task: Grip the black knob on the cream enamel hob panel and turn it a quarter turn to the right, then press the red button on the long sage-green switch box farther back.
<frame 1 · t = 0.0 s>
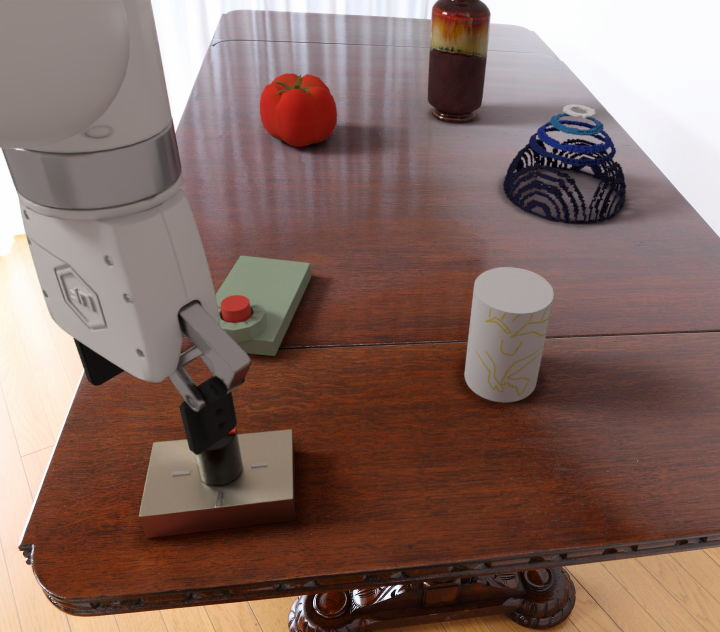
hand: (161, 404, 44), 18 cm above the table, tool pointing down, fingers open, 9 cm apart
decorative bowl: (563, 194, 114), on the table
white patterned cylinder: (500, 378, 76), on the table
start button: (236, 309, 74), point 4 cm above the table, slide at 0.1 cm
switch box: (257, 309, 82), on the table
vase: (453, 115, 138), on the table
hob knob: (217, 450, 57), point 5 cm above the table, hinge at 0.0°
tomato: (300, 140, 122), on the table
hob panel: (225, 491, 61), on the table
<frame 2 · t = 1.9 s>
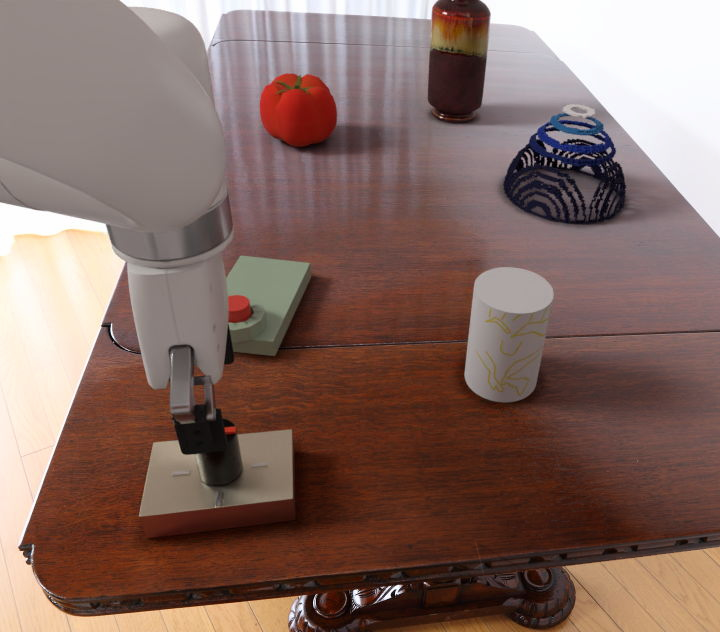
hand: (210, 403, 55), 11 cm above the table, tool pointing down, fingers open, 9 cm apart
nothing on the table moved.
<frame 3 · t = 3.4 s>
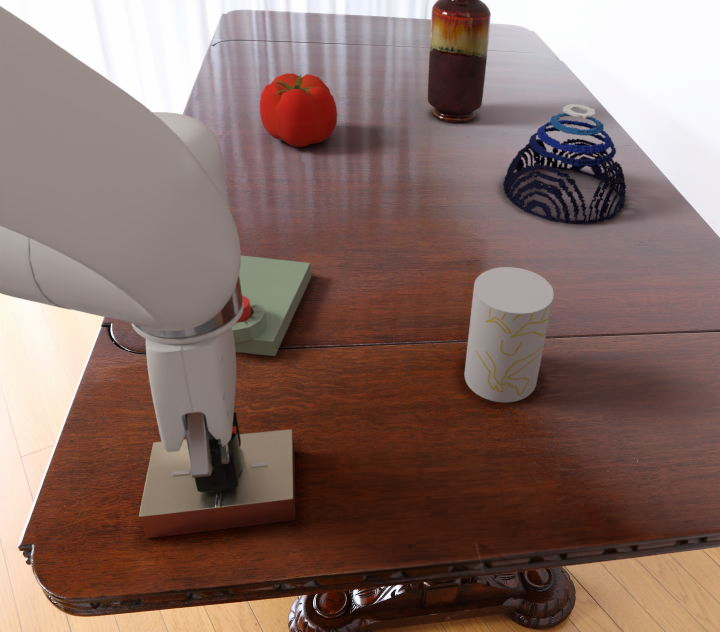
hand: (220, 466, 59), 3 cm above the table, tool pointing down, fingers closed on hob knob, 3 cm apart
hob knob: (217, 450, 57), point 5 cm above the table, hinge at 0.1°, touching gripper
everything else where it was.
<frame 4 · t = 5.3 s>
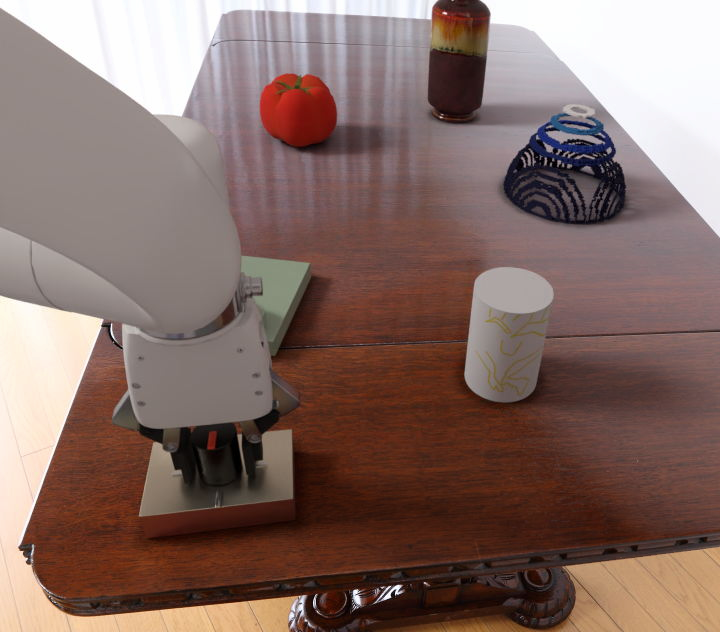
hand: (221, 465, 59), 3 cm above the table, tool pointing down, fingers open, 4 cm apart
hob knob: (217, 450, 57), point 5 cm above the table, hinge at -91.5°
everything else where it was.
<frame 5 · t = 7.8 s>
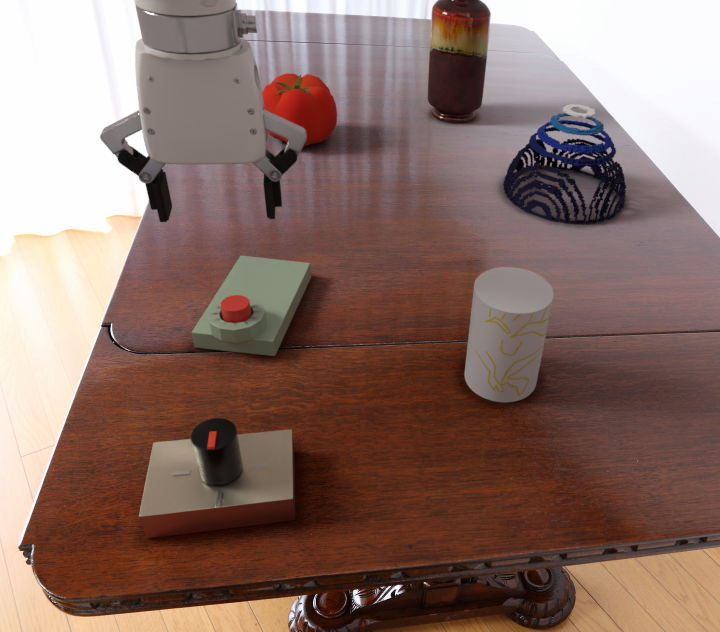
hand: (219, 213, 66), 17 cm above the table, tool pointing down, fingers open, 9 cm apart
nothing on the table moved.
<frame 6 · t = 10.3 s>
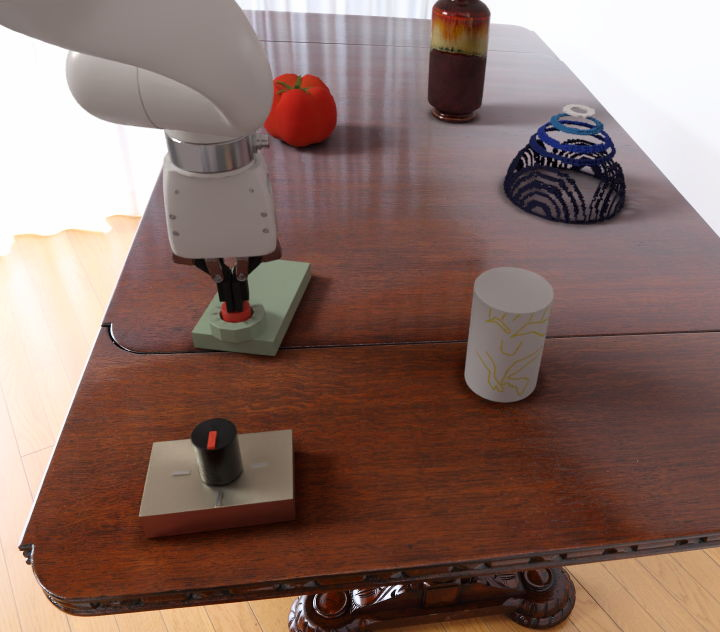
hand: (235, 304, 74), 5 cm above the table, tool pointing down, fingers closed
start button: (236, 312, 75), point 4 cm above the table, slide at -0.3 cm, touching gripper
everything else where it was.
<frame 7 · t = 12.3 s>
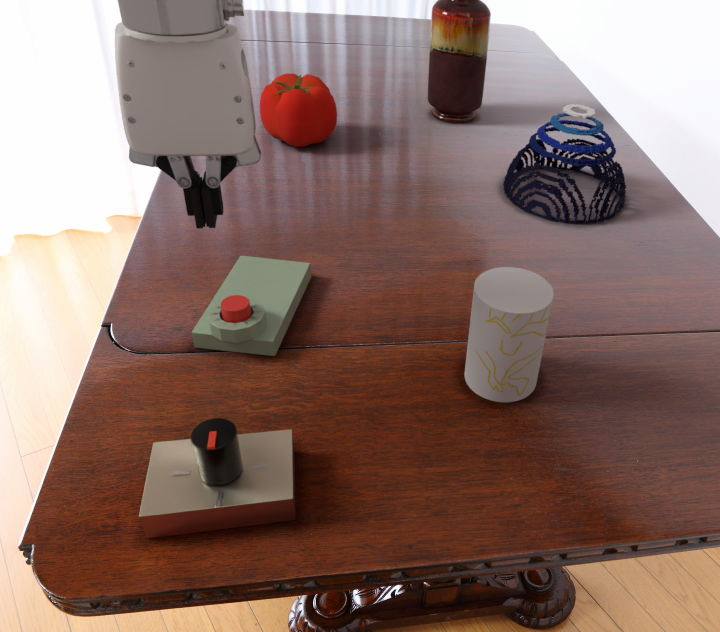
hand: (207, 220, 63), 18 cm above the table, tool pointing down, fingers closed
start button: (236, 309, 74), point 4 cm above the table, slide at 0.1 cm
everything else where it was.
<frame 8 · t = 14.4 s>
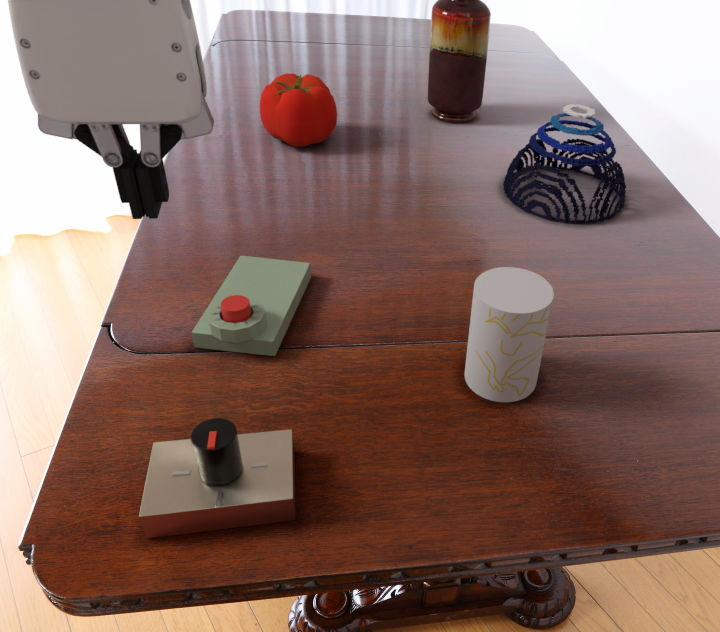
hand: (148, 209, 50), 25 cm above the table, tool pointing down, fingers closed
nothing on the table moved.
at the end: hob knob at -92° (first picture: +0°); start button pushed in 1.1 cm at the most during the clip, back to where it started at the end; start button slide at 0.1 cm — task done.
